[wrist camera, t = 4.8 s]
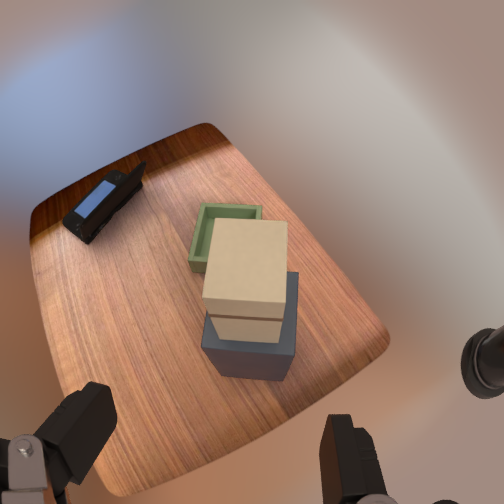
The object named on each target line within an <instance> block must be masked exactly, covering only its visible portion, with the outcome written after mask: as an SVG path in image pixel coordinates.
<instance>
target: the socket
mask: <svg viewBox="0 0 504 504" xmlns="http://www.w3.org/2000/svg"><path fill="white" fill-rule="evenodd" d="M215 218H233V219H256V220H262V206H259V205H242V204H223V203H201V207H200V211H199V215H198V219H197V223H196V227H195V231H194V235H193V240H192V244H191V248H190V252H189V257H188V262H189V265H190V267H191V270H192V272H197V273H206V268H207V262H208V256H209V250H210V244H211V238H212V233H213V227H214V221H215Z"/></svg>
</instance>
